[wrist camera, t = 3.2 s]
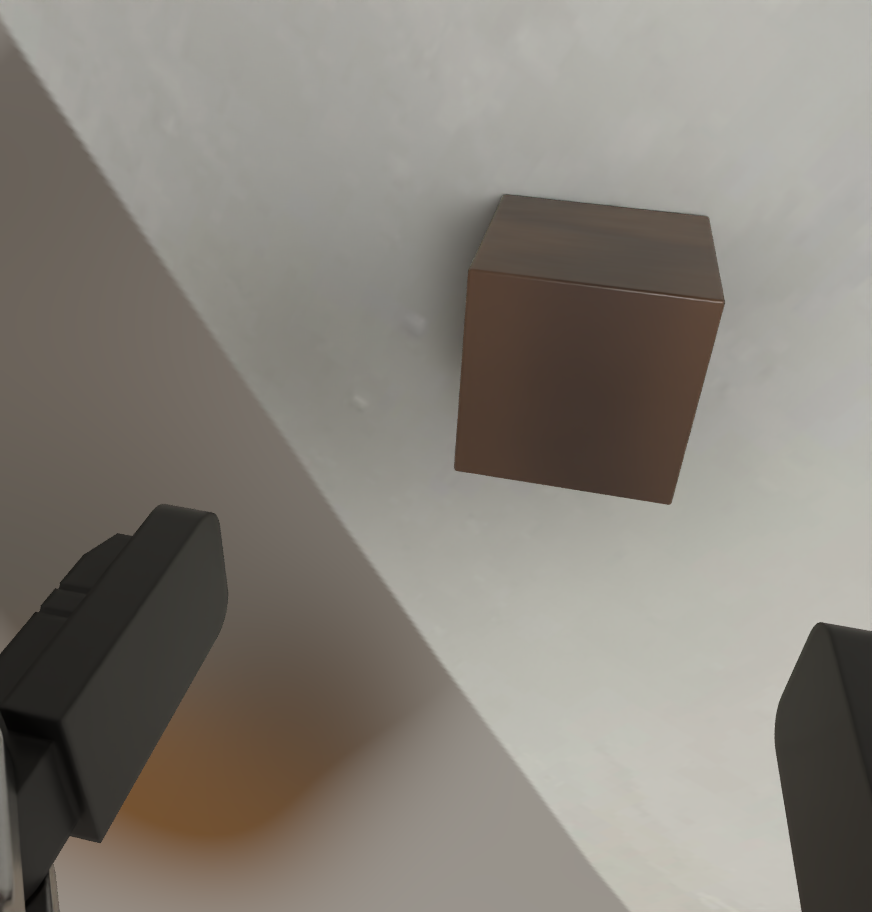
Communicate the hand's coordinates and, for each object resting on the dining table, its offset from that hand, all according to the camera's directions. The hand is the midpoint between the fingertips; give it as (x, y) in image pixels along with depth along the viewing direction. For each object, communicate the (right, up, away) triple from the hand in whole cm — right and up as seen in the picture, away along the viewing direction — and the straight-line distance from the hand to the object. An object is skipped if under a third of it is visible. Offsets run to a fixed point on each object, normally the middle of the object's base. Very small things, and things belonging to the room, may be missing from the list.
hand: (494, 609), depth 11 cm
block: (+3, +6, +10) cm, 12 cm away
